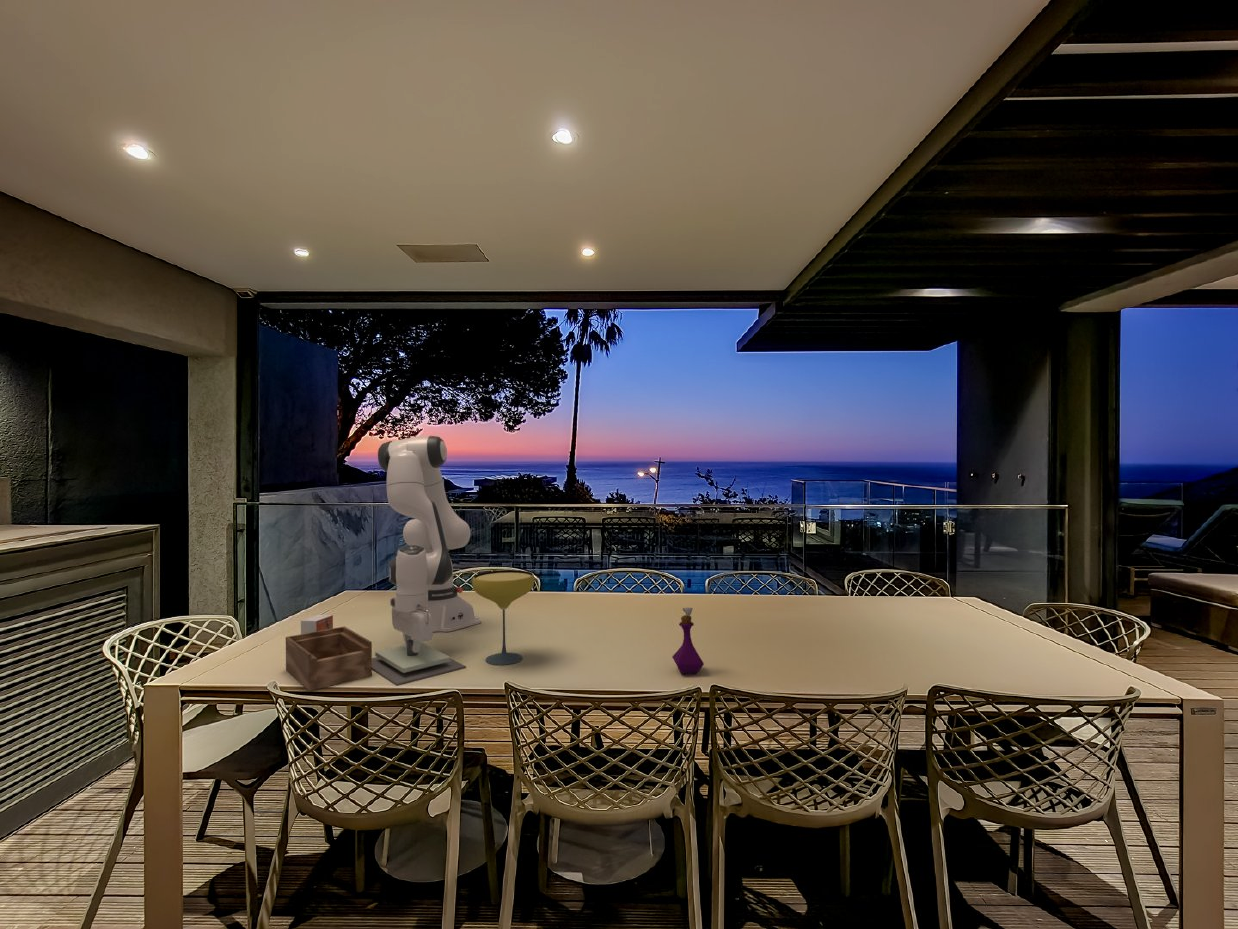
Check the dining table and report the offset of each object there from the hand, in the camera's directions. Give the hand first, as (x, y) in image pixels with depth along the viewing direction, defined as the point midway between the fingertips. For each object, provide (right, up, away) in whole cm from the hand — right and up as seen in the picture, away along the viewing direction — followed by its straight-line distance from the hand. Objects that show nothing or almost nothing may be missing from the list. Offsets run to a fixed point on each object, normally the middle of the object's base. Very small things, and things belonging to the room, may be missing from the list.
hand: (412, 650), depth 174 cm
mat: (0, -4, 0) cm, 4 cm away
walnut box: (-21, -4, -6) cm, 23 cm away
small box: (-35, -5, +14) cm, 38 cm away
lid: (0, -2, 0) cm, 2 cm away
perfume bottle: (+79, -4, -8) cm, 80 cm away
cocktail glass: (+26, -4, +4) cm, 27 cm away
